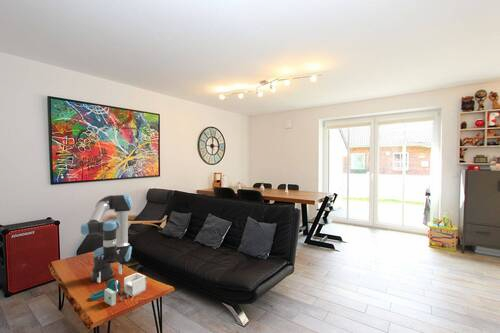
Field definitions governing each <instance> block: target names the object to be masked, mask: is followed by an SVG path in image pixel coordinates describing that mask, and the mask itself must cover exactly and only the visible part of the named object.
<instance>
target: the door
mask: <svg viewBox="0 0 500 333" xmlns="http://www.w3.org/2000/svg"><path fill="white" fill-rule="evenodd" d="M104 289H105V290H104ZM104 289H103V290H104V297H103V299H104V300H103V301H104V303H105V304H107V305H110V306H111V307H113V306H116V303H117V301H116V300H117V295H116V292H115V291H113V290H111V289H109V288H107V289H106V288H104Z"/></svg>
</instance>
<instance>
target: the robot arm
mask: <svg viewBox="0 0 500 333" xmlns="http://www.w3.org/2000/svg"><path fill="white" fill-rule="evenodd" d="M132 209H133V200H132V197H131V195H129V194H119V195H118V194H117V195H106V196H104V197H103V198H101V199H99V200H98V201H97V202H96V204H95V209H94V211H93V213H92V215H91V216H90V218H89V219H88V222H84V223H82V224H81V226H80V233H81V235H82V236H84V235H86V236H87V235H98V234H102V236H103V237H102V238H103V239H102V240H103V241H102V245H103V246H101V247H98V248H96V249H95V250H94V251H93V268H92V273H91V276H90V279H91V282H96V283H99V284H100V283H101V282H103V281H107V280H110V279H112V278H113V276H114V270H113V268H112V265H111V264H116V263H117V264H118V274H119V275H123V269H124V265H125V263H126V262H129V261H130V260H131V255H132V250H133V246H131V244H130V243H129V242H128V241H129V236H128V235H129V234H128V231H129V213H130V211H131V210H132ZM111 210H113V211H114V213H115V214H116V216H115V218H116V219H112V220H108V221H103V220H104V218H105V215H106V213H107V212H108V211H111Z"/></svg>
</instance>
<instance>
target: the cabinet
mask: <svg viewBox="0 0 500 333" xmlns="http://www.w3.org/2000/svg"><path fill="white" fill-rule="evenodd" d="M145 291H147V276H146V275H144V274H141V273H139V272H135V273H133V274H130V275H128V276H125V277H124V278H123V292H124V293H125V294H126V295H127V294H128V295H129V296H131V297H135V296H138V295H140V294H141V293H143V292H145Z"/></svg>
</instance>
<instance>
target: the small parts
mask: <svg viewBox="0 0 500 333" xmlns="http://www.w3.org/2000/svg"><path fill="white" fill-rule="evenodd" d="M117 281H118V280H117V279H116V282H115V286H116V290H115V292H116V296H118V294H119V293H120V295H121V296H120V298H119V301H120V302H123V297H122V295H123V292H124V291H118V290H117V286H118V282H117ZM125 296H126V299H129V298H130V295H129V294H127V293H126V294H125Z"/></svg>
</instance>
